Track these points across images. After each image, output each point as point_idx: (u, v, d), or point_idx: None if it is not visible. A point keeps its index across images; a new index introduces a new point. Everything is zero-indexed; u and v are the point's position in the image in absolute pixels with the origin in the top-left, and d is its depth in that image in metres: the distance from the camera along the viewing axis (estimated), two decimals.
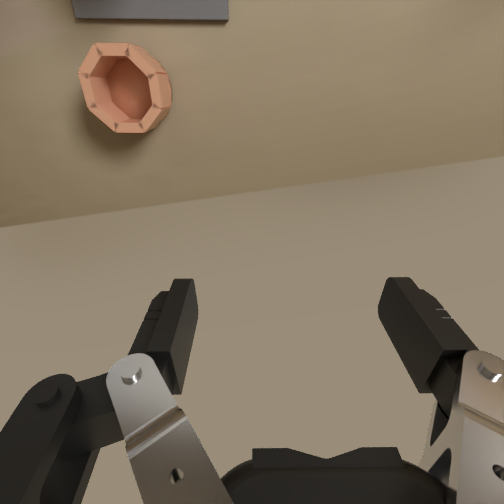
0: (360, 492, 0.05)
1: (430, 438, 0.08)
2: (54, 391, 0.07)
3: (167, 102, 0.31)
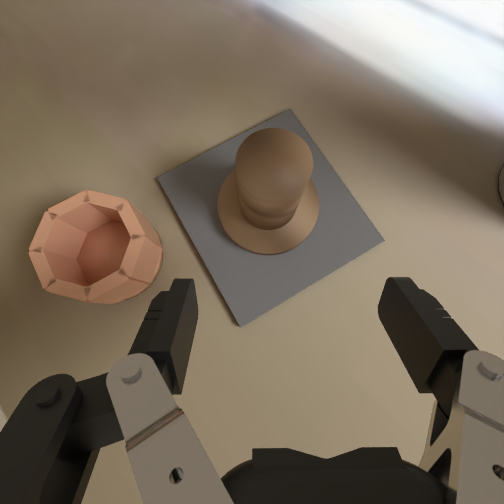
0: (360, 492, 0.05)
1: (430, 438, 0.08)
2: (54, 391, 0.07)
3: (111, 300, 0.22)
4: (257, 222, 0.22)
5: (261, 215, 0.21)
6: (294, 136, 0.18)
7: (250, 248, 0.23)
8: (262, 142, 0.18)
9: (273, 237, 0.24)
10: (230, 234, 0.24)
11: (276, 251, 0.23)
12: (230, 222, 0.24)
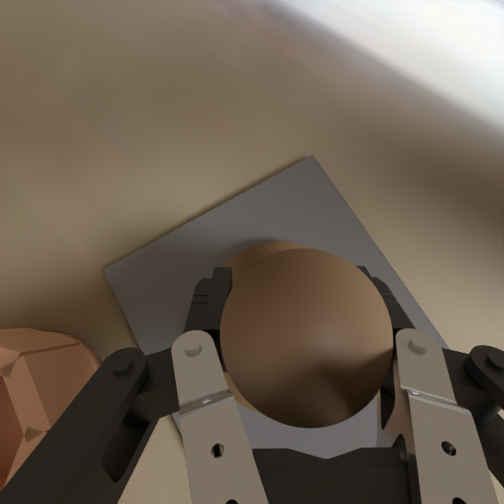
0: (360, 492, 0.05)
1: (380, 421, 0.08)
2: (128, 363, 0.07)
3: None
4: None
5: None
6: (348, 269, 0.08)
7: (252, 408, 0.14)
8: (280, 285, 0.08)
9: None
10: None
11: None
12: None
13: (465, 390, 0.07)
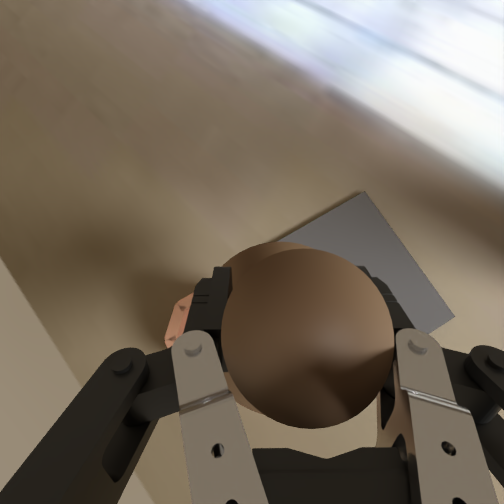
0: (360, 492, 0.05)
1: (380, 421, 0.08)
2: (128, 363, 0.07)
3: None
4: None
5: None
6: (349, 270, 0.08)
7: (252, 408, 0.14)
8: (281, 285, 0.08)
9: None
10: None
11: None
12: None
13: (465, 390, 0.07)
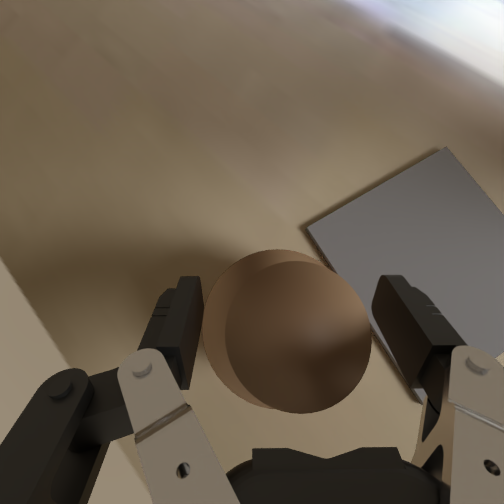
0: (360, 492, 0.05)
1: (422, 434, 0.08)
2: (67, 385, 0.07)
3: None
4: None
5: None
6: (334, 279, 0.10)
7: (252, 401, 0.15)
8: (276, 292, 0.10)
9: None
10: (221, 377, 0.15)
11: None
12: (221, 357, 0.16)
13: None
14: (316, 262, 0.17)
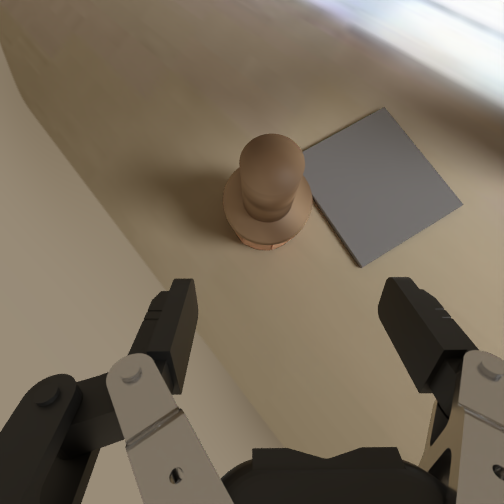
0: (360, 492, 0.05)
1: (430, 438, 0.08)
2: (54, 391, 0.07)
3: (275, 245, 0.30)
4: (258, 215, 0.26)
5: (261, 209, 0.24)
6: (289, 141, 0.21)
7: (252, 238, 0.27)
8: (262, 146, 0.21)
9: (272, 228, 0.27)
10: (234, 226, 0.27)
11: (274, 241, 0.27)
12: (234, 216, 0.27)
13: None
14: None
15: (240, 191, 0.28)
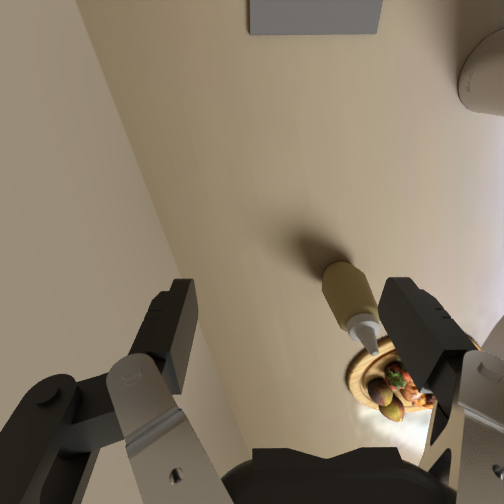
0: (360, 492, 0.05)
1: (430, 438, 0.08)
2: (54, 391, 0.07)
3: None
4: None
5: None
6: None
7: None
8: None
9: None
10: None
11: None
12: None
13: None
14: None
15: None
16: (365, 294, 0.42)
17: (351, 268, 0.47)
